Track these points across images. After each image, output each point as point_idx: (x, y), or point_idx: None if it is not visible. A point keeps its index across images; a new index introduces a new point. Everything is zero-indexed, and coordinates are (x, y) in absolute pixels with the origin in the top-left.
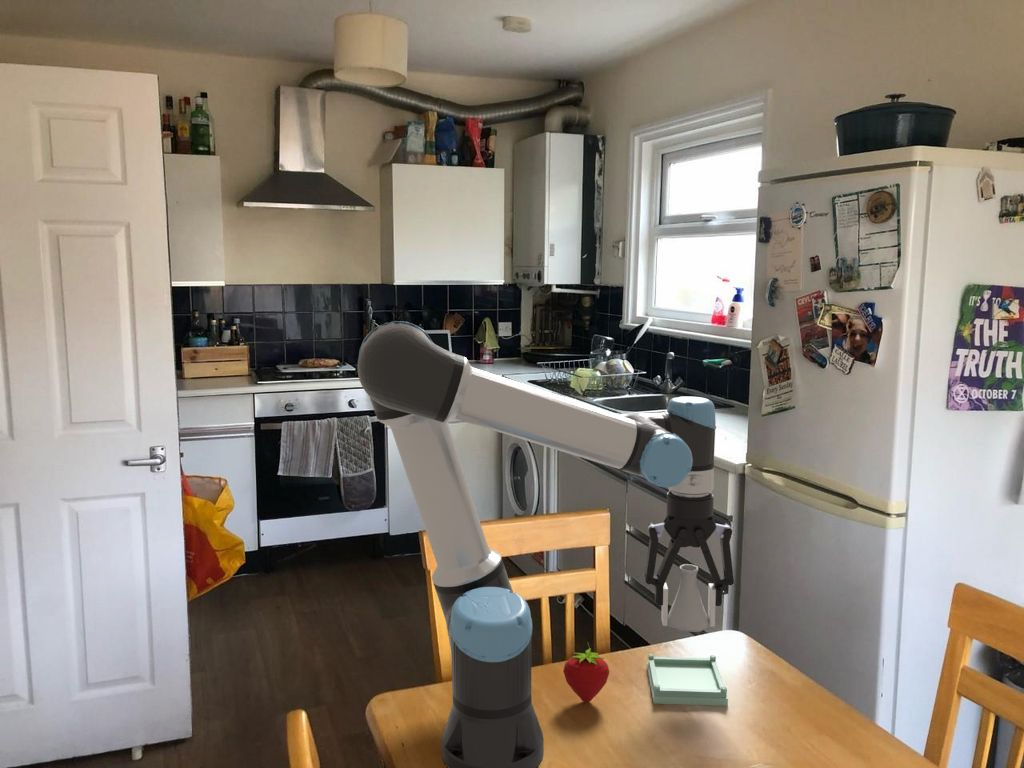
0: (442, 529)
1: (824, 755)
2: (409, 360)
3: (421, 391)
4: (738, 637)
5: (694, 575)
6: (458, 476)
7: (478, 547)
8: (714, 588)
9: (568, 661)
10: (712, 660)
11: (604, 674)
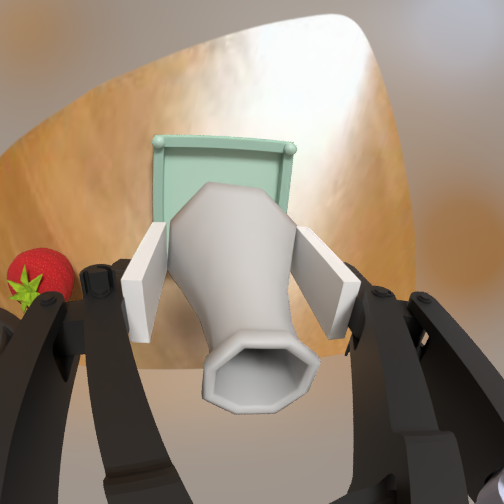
0: None
1: (346, 348)
2: None
3: None
4: (360, 35)
5: (277, 380)
6: None
7: None
8: (345, 327)
9: (9, 287)
10: (287, 154)
11: (65, 301)
